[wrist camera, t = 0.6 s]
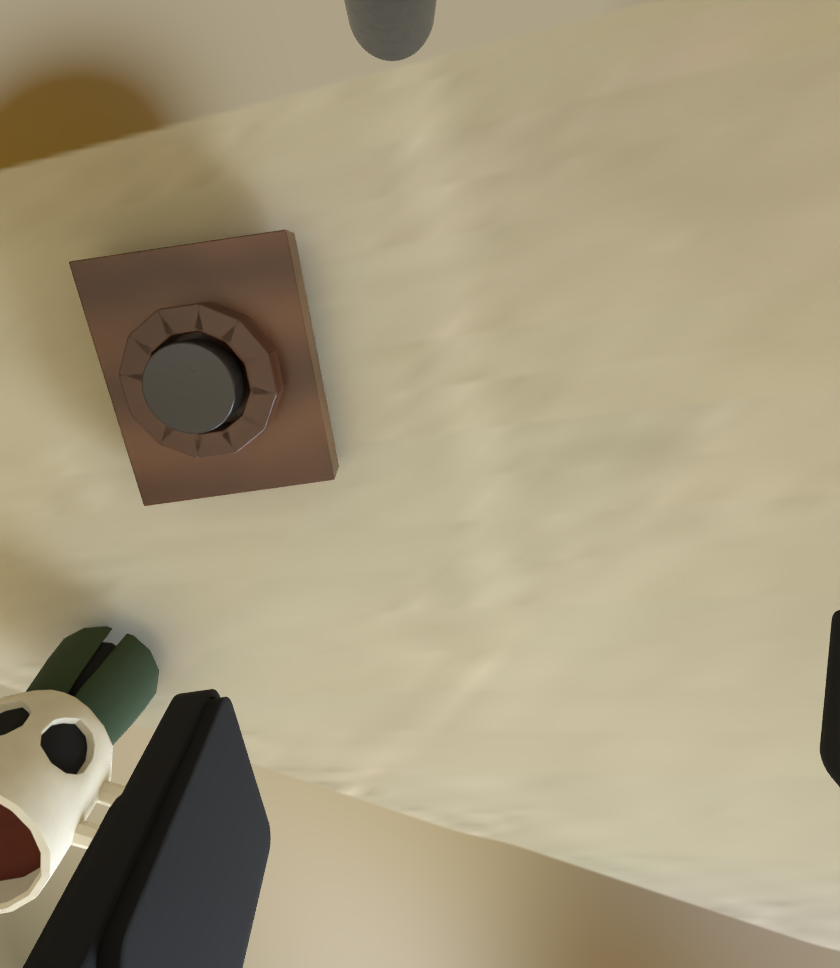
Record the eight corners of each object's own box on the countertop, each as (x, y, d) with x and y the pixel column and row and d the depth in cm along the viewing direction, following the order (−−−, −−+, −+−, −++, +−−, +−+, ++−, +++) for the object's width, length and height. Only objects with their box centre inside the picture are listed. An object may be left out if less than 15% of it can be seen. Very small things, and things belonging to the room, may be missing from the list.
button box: (91, 262, 30) (45, 260, 26) (294, 232, 29) (278, 226, 26) (159, 491, 33) (128, 519, 30) (338, 467, 33) (330, 492, 29)
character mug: (215, 649, 37) (118, 828, 24) (181, 739, 39) (75, 948, 26) (34, 587, 35) (-167, 744, 23) (8, 684, 37) (-191, 878, 25)
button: (146, 344, 27) (129, 349, 26) (233, 332, 27) (222, 336, 26) (170, 430, 29) (155, 440, 27) (253, 418, 29) (244, 427, 27)
